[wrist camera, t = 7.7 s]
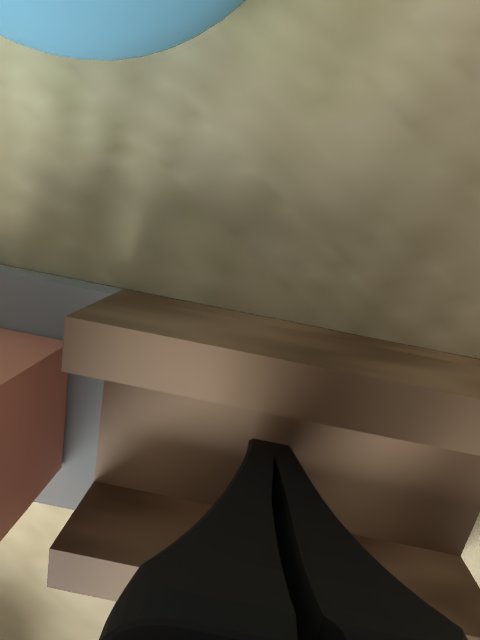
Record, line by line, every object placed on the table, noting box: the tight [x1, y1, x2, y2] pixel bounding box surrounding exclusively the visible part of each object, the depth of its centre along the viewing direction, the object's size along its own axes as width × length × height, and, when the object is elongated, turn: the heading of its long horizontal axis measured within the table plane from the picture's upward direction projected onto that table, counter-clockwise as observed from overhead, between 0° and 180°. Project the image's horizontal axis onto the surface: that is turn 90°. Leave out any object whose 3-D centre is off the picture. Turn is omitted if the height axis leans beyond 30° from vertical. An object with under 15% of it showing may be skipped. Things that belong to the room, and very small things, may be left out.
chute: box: [47, 289, 480, 640], centre depth 12 cm, size 14×9×4 cm, turn 79°
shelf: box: [0, 264, 123, 510], centre depth 14 cm, size 6×9×1 cm
